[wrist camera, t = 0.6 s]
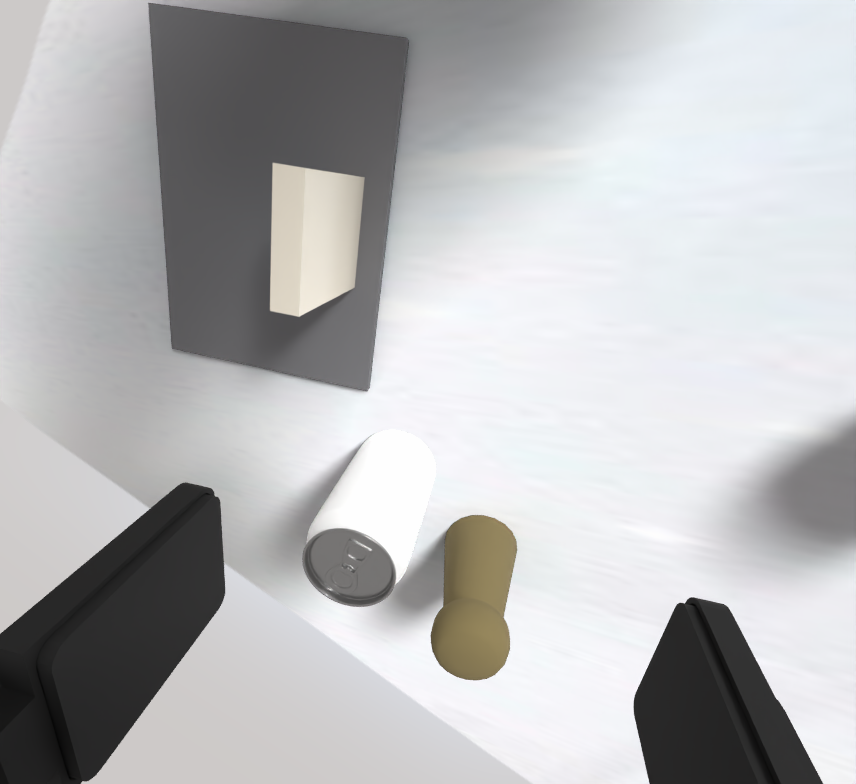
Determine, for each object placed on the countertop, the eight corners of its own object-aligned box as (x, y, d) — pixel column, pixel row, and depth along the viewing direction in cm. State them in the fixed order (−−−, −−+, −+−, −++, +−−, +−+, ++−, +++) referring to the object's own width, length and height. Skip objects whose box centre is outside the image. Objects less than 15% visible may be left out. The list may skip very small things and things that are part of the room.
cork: (431, 531, 40) (401, 642, 30) (492, 504, 38) (483, 613, 28) (469, 582, 41) (453, 705, 31) (530, 558, 39) (534, 682, 29)
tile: (338, 172, 30) (269, 162, 22) (364, 177, 30) (305, 168, 21) (330, 282, 33) (267, 310, 24) (354, 287, 32) (298, 316, 24)
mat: (155, 6, 29) (148, 2, 28) (408, 41, 27) (406, 37, 26) (176, 346, 37) (171, 348, 37) (369, 388, 36) (367, 391, 35)
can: (347, 474, 39) (281, 580, 28) (376, 413, 36) (315, 504, 26) (416, 509, 39) (377, 629, 28) (450, 451, 37) (421, 557, 26)
